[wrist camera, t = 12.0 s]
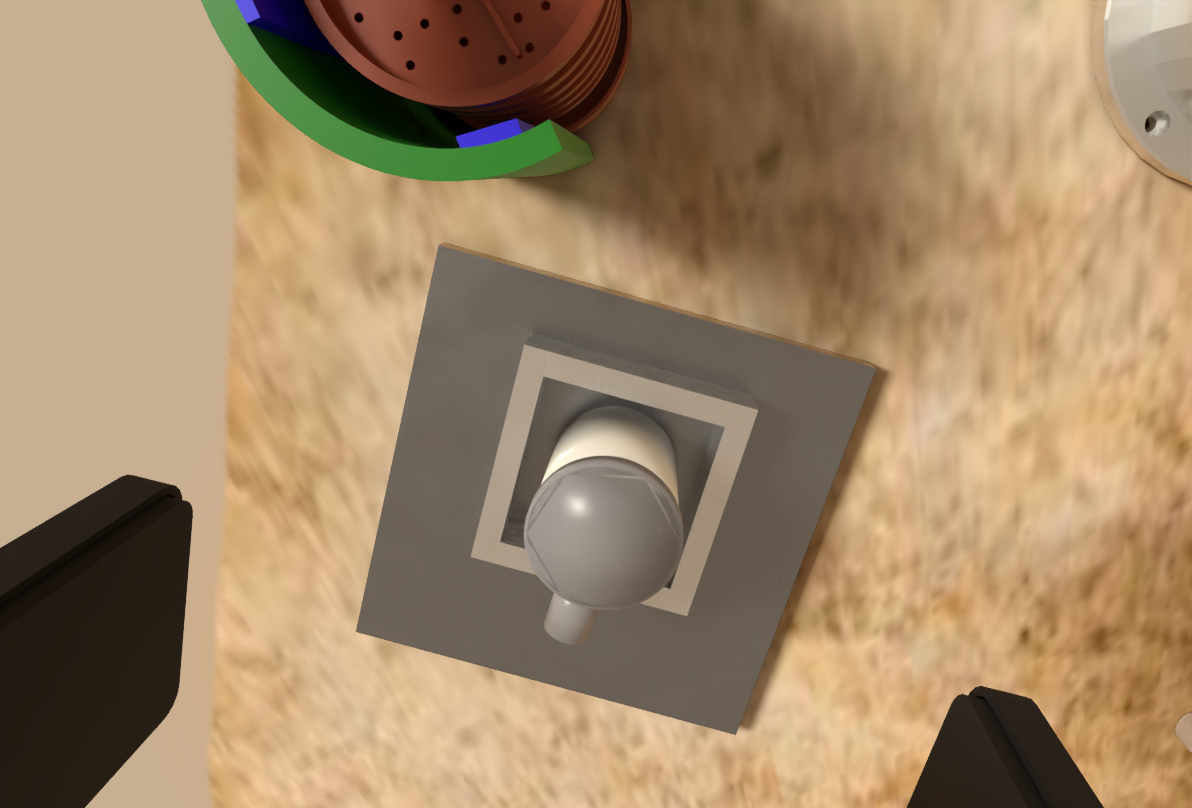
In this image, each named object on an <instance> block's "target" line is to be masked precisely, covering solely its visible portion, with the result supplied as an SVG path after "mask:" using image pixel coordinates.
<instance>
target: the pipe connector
mask: <svg viewBox="0 0 1192 808" xmlns="http://www.w3.org/2000/svg"><path fill="white" fill-rule="evenodd" d="M1175 733H1176V736H1177V738H1178V739H1179V740H1180V741H1181V742H1182V743H1183V744H1184V745H1185V746H1186V747H1187V749H1188V750H1189V751H1190V752H1191V753H1192V712H1190V713H1188V714H1186V715H1184V716H1183V717H1182V718H1181V719H1180V720H1179V721H1178V723H1177V724H1176V728H1175Z"/></svg>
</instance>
